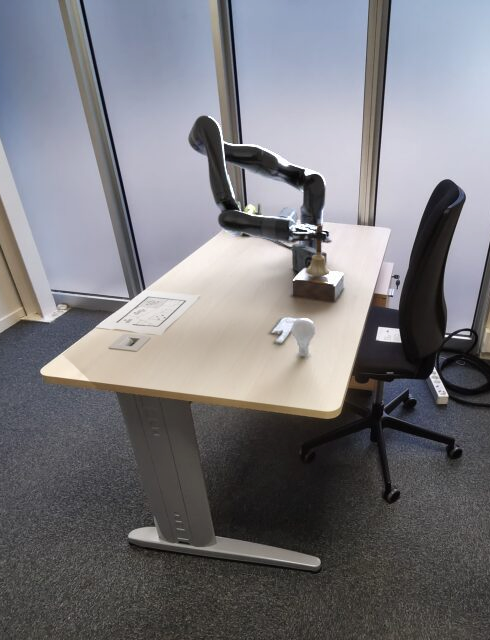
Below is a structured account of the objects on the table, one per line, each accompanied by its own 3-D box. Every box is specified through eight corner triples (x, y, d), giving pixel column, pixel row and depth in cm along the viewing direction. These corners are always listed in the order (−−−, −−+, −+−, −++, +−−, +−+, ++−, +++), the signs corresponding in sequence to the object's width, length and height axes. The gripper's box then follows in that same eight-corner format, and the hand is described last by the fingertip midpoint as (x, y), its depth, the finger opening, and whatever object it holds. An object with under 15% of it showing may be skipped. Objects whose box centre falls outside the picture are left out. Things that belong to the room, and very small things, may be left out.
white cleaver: (264, 341, 127) (264, 337, 126) (282, 319, 139) (282, 316, 138) (281, 343, 126) (281, 340, 125) (297, 321, 138) (297, 318, 137)
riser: (292, 296, 154) (292, 279, 151) (303, 283, 165) (303, 266, 161) (334, 302, 152) (335, 285, 148) (343, 288, 162) (343, 272, 159)
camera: (290, 268, 176) (290, 243, 171) (298, 266, 179) (297, 241, 173) (319, 280, 167) (319, 254, 162) (326, 278, 170) (327, 252, 164)
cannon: (260, 235, 211) (258, 211, 205) (234, 235, 210) (232, 210, 203) (262, 222, 231) (261, 199, 225) (239, 221, 230) (237, 198, 224)
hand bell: (333, 270, 156) (335, 224, 147) (324, 277, 150) (326, 229, 141) (311, 266, 158) (312, 220, 149) (302, 273, 152) (302, 225, 143)
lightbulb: (292, 349, 124) (291, 313, 117) (315, 349, 124) (315, 313, 118) (291, 361, 118) (290, 324, 112) (315, 361, 119) (315, 324, 113)
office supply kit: (329, 244, 205) (329, 223, 200) (269, 240, 206) (268, 219, 201) (336, 222, 238) (337, 204, 233) (285, 218, 239) (284, 200, 234)
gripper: (284, 234, 156) (332, 241, 154) (270, 245, 145) (321, 252, 143) (284, 212, 152) (333, 218, 150) (269, 222, 141) (322, 229, 138)
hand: (327, 235), depth 146 cm, fingers closed on hand bell, 2 cm apart
